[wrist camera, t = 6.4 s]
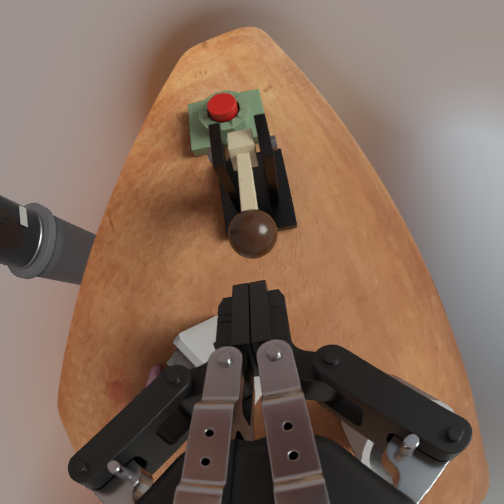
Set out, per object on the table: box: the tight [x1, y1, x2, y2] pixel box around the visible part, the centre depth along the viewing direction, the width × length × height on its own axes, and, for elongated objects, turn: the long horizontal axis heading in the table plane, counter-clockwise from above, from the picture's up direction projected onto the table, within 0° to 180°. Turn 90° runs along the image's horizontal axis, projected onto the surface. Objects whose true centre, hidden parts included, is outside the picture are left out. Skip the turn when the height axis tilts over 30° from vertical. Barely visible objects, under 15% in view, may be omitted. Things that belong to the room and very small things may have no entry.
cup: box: [340, 374, 454, 485], centre depth 25 cm, size 9×9×12 cm
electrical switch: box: [166, 315, 262, 404], centre depth 29 cm, size 9×5×9 cm, turn 45°
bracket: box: [208, 113, 297, 238], centre depth 31 cm, size 10×8×13 cm
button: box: [207, 93, 238, 122], centre depth 36 cm, size 4×4×2 cm
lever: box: [227, 128, 277, 259], centre depth 23 cm, size 13×3×3 cm, turn 9°
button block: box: [188, 89, 265, 156], centre depth 38 cm, size 10×8×4 cm
